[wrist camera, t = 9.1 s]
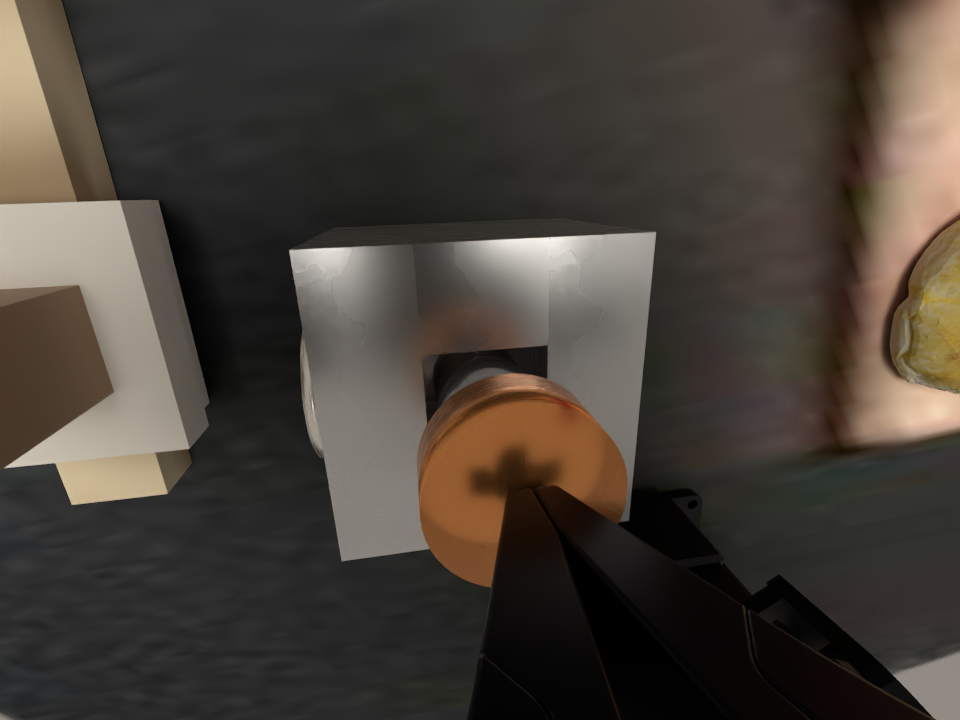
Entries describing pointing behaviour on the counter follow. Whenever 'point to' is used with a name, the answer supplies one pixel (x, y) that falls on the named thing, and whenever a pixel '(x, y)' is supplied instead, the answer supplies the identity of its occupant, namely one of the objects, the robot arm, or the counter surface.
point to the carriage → (93, 335)
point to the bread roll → (931, 317)
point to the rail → (63, 192)
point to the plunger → (504, 456)
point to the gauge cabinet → (456, 343)
